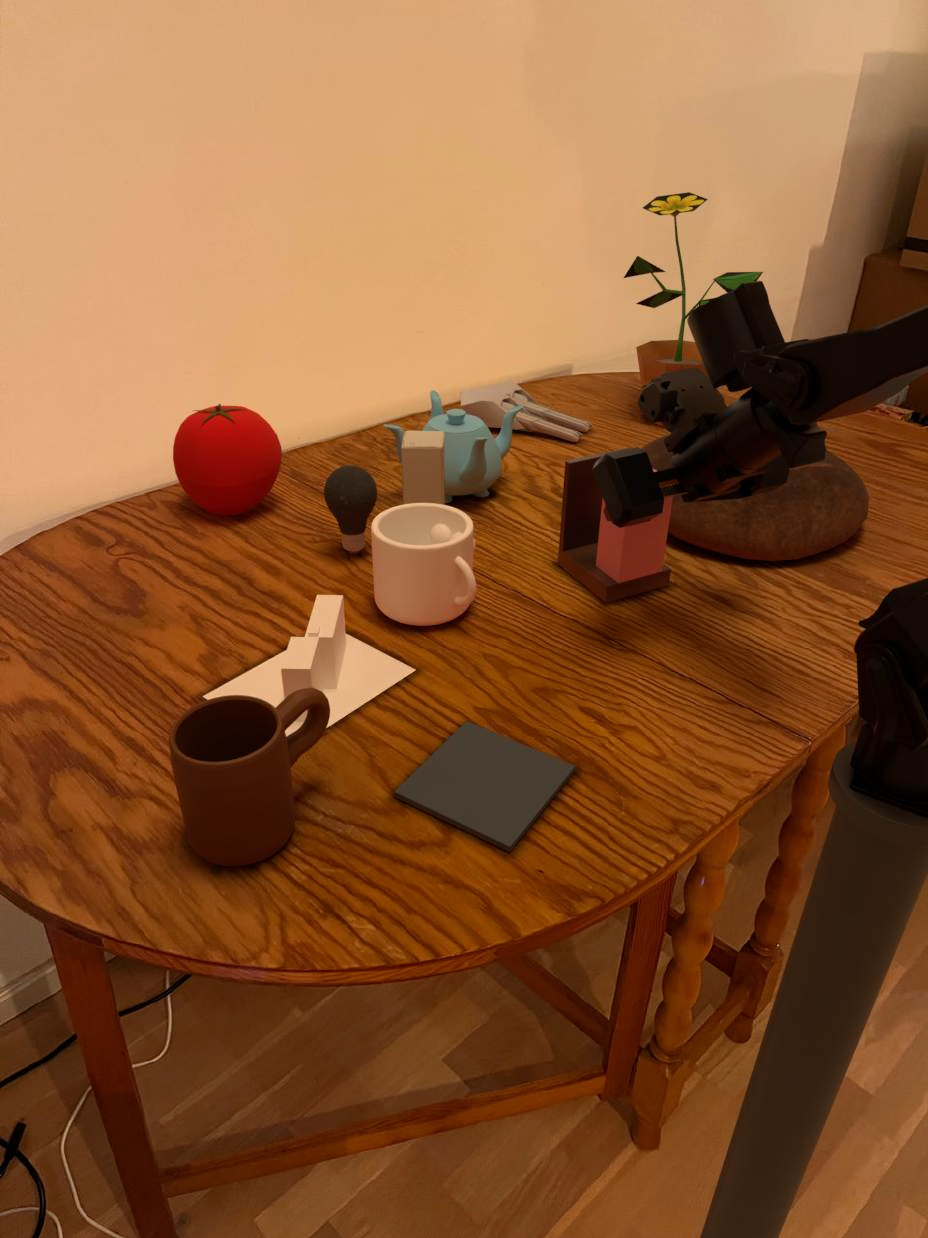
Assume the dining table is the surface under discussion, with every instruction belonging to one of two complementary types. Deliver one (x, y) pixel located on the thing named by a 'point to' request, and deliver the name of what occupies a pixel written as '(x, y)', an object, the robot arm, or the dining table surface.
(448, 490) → the teapot
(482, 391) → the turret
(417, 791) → the mat
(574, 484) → the dark brown bookend
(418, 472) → the box
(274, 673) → the napkin holder
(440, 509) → the mug
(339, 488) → the light bulb
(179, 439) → the tomato
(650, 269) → the potted plant
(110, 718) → the dining table surface
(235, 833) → the mug
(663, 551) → the block
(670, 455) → the bread
